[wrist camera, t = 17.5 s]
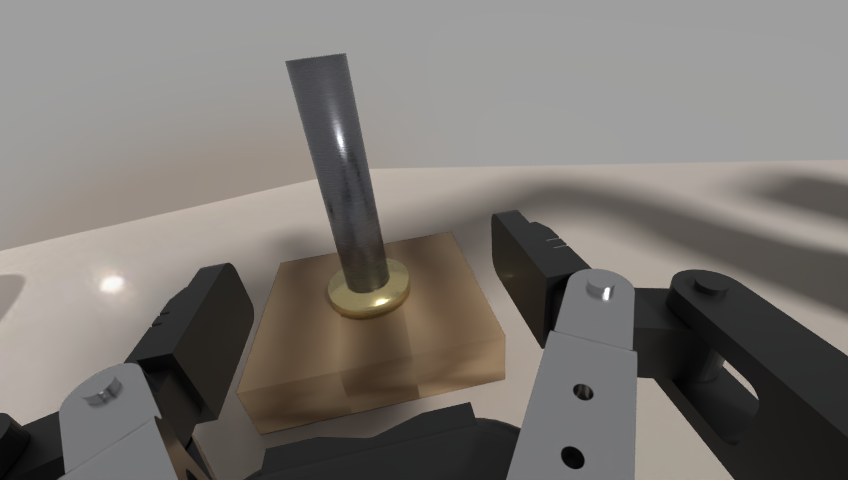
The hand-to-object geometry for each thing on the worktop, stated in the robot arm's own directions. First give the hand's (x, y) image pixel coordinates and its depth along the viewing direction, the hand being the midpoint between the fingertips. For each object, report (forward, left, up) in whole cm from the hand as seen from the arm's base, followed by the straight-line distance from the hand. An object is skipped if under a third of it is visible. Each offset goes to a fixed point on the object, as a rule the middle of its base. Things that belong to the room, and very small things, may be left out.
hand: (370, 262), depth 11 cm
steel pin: (+1, -12, -14) cm, 19 cm away
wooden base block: (+1, -13, -14) cm, 19 cm away
